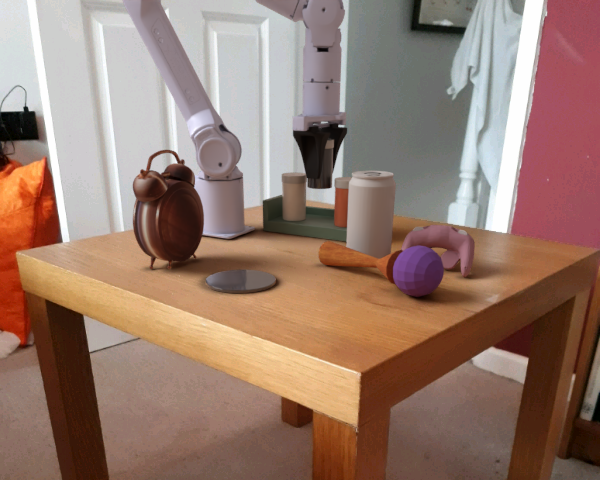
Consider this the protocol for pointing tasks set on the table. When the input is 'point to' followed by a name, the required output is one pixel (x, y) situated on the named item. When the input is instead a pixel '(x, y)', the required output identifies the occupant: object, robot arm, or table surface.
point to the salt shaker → (294, 196)
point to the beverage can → (371, 212)
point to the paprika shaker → (341, 201)
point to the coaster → (240, 281)
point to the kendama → (393, 266)
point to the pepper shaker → (324, 169)
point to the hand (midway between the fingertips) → (319, 176)
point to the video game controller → (445, 244)
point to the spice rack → (314, 225)
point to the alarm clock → (167, 212)
